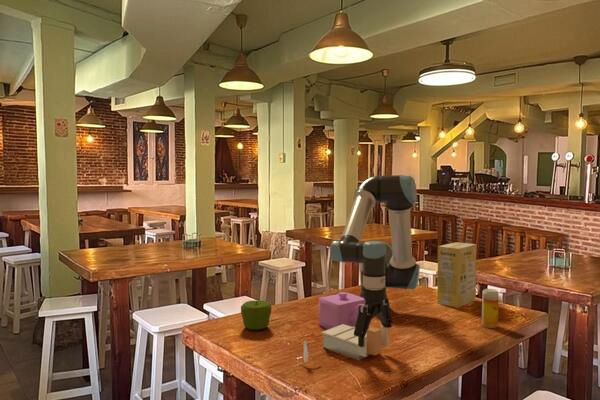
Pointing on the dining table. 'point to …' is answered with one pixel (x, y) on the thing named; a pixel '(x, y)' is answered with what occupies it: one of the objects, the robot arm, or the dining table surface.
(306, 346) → the stand
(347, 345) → the grey rectangular box
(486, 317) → the beer can
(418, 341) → the dining table surface
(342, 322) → the purple knobbed cube
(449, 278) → the pasta box
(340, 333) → the lid
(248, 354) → the dining table surface
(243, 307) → the apple
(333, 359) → the dining table surface
